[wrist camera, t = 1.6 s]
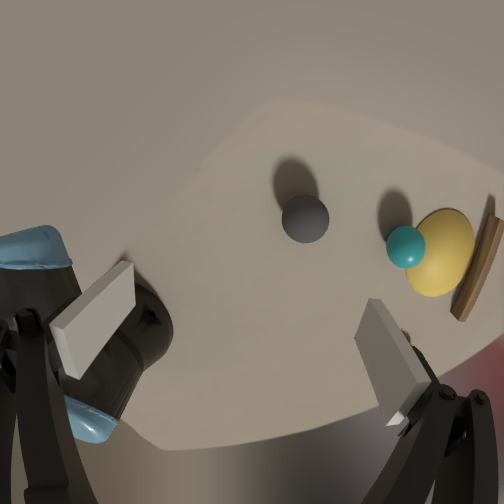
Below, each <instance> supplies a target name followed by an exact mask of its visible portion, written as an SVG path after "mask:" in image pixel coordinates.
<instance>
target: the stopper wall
mask: <svg viewBox="0 0 504 504" xmlns="http://www.w3.org/2000/svg"><path fill="white" fill-rule="evenodd" d="M503 231H504V221H503V220H501V219H500V218H497V217H495V216H493V215H490V214H489V215H488V218H487V222H486V225H485V228H484V232H483V235H482V238H481V241H480V243H479V246H478V249H477V252H476V255H475V257H474V260H473V262H472V265H471V267H470V270H469V272H468V275H467V277H466V279H465V282H464V284H463V286H462V288H461V291H460V293H459V295H458V297H457V299H456V301H455V303H454V305H453V307H452V309H451V311H450V312H451V313H452V314H453V316H454V317H455V318H456V319H457V320H458V321H462V322H465V321H466V319H467V318H468V316H469V314H470V312H471V310H472V308H473V306H474V304H475V302H476V300H477V298H478V296H479V293H480V291H481V289H482V287H483V285H484V282H485V280H486V278H487V275H488V273H489V270H490V268H491V265H492V263H493V260H494V257H495V255H496V252H497V249H498V246H499V243H500V240H501V237H502V234H503Z"/></svg>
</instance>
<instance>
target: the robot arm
mask: <svg viewBox="0 0 504 504" xmlns="http://www.w3.org/2000/svg"><path fill="white" fill-rule="evenodd" d="M72 264H73V263H72V260H71V259H70V258H69V256H68V254H67V252H66V249H65V246H64V243H63V241H62V238H61V235H60V233H59V232H58V231H57V229H55V228H54V227H52V226H49V225H43V226H38V227H34V228H30V229H26V230H22V231H19V232H15V233H11V234H8V235H5V236H1V237H0V504H11V458H12V445H13V436H14V435H13V434H14V428H15V421H16V415H17V417H18V418H17V419H18V428H19V437H20V444H21V450H22V456H23V461H24V467H25V471H26V476H27V480H28V488H27V489H25V490H24V499H25V503H26V504H98V502H97V500H96V498H95V496H94V493H93V491H92V488H91V486H90V484H89V481H88V478H87V476H86V473H85V470H84V468H83V465H82V462H81V459H80V456H79V453H78V450H77V447H76V443H75V440H74V437H75V438H78V439H80V440H83V441H86V442H90V443H101V442H104V441H105V440H106V439H107V438H108V437H109V435H110V434H111V432H112V430H113V428H114V427H115V426H116V425H118V421H119V419H120V417H121V415H122V413H123V411H124V409H125V407H126V405H127V403H128V401H129V399H130V397H131V394H132V392H133V390H134V388H135V386H136V384H137V382H138V380H139V378H140V376H141V375H142V373H143V371H145V370H146V369H147V368H149V367H150V366H151V365H152V364H154V363H155V362H156V361H157V360H159V359H160V358H161V357H162V356H163V355H164V354H165V353H166V351H167V350H168V348H169V346H170V344H171V341H172V338H173V325H172V322H171V319H170V316H169V314H168V312H167V310H166V309H165V307H164V306H163V304H162V303H161V302H160V301H159V300H158V299H157V298H156V297H155V296H154V295H153V294H152V293H151V292H149V291H148V290H147V289H145V288H143V287H142V286H140V285H138V284H135V283H134V268H133V262H127V261H120V262H119V263H118V264H117V265H115V266H114V267H113V268H112V269H111V270H109V271H108V272H107V273H106V274H105V275H103V276H102V277H101V278H100V279H99V280H98V281H96V282H95V283H94V284H93V285H92V286H91V287H89V289H87V290H86V291H85V292H84V293H83V294H82V292H81V290H80V287H79V285H78V282H77V279H76V277H75V274H74V271H73V269H72V266H71V265H72ZM354 339H355V341H356V344H357V346H358V349H359V351H360V354H361V357H362V359H363V362H364V364H365V367H366V370H367V372H368V375H369V378H370V380H371V383H372V386H373V389H374V391H375V394H376V397H377V400H378V403H379V406H380V409H381V411H382V414H383V417H384V420H385V423H386V425H395V424H400V423H401V422H402V421H403V420H404V418H405V417H406V416H407V417H408V419H409V423H408V424H407V425H406V426H405V428H404V429H403V430H402V431H401V432H400V433H399V434H398V436H400V435H401V434H402V435H401V437H400V439H399V441H398V443H397V445H396V447H395V449H394V450H393V452H392V454H391V456H390V458H389V459H388V462H387V463H386V465H385V467H384V468H383V470H382V471H381V473H380V475H379V476H378V478H377V480H376V481H375V483H374V484H373V486H372V487H371V489H370V490H369V492H368V493H367V495H366V496H365V498H364V499H363V501H362V502H361V504H424V503H425V501H426V499H427V497H428V494H429V492H430V490H431V488H432V485H433V483H434V480H435V486H434V492H433V498H432V503H431V504H498V457H497V445H496V436H495V428H494V421H493V415H492V409H491V404H490V400H489V398H488V396H487V395H486V393H485V392H483V391H481V390H477V389H475V390H472V391H471V393H470V394H469V395H468V397H462V396H457V394H456V392H455V390H454V389H453V388H451V387H450V386H448V385H445V384H440V383H439V381H438V379H437V377H436V376H435V374H434V372H433V371H432V369H431V367H430V366H429V364H428V362H427V361H425V357H424V356H423V354H422V353H421V352H420V351H419V350H418V349H417V348H416V347H415V346H411V345H410V344H409V342H408V341H407V339H406V337H405V336H404V334H403V333H402V331H401V329H400V328H399V326H398V325H397V323H396V322H395V320H394V319H393V317H392V316H391V314H390V313H389V311H388V310H387V308H386V307H385V305H384V304H383V302H382V301H381V299H372V298H369V300H368V303H367V305H366V308H365V311H364V314H363V316H362V319H361V322H360V324H359V327H358V329H357V332H356V334H355V337H354ZM465 433H466V437H465ZM435 478H436V479H435Z"/></svg>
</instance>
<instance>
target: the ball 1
mask: <svg viewBox="0 0 504 504" xmlns="http://www.w3.org/2000/svg"><path fill="white" fill-rule="evenodd" d="M282 225H283V228H284V230H285V232H286V233H287V235H288V236H289V237H291V238H292V239H293V240H295V241H297V242H300V243H311V242H314V241H316V240H318V239H320V238H321V237H322V236H323V235H324V234H325V232H326V230H327V228H328V225H329V214H328V211H327V208H326V207H325V205H324V204H323V203H322V202H321V201H320V200H319V199H317V198H315V197H312V196H308V195H303V196H298V197H295V198H293V199H292V200H291V201H289V202H288V203H287V205H286V206H285V208H284V210H283V213H282Z"/></svg>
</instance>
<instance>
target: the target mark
mask: <svg viewBox="0 0 504 504" xmlns="http://www.w3.org/2000/svg"><path fill="white" fill-rule="evenodd" d="M417 230H419V231H420V233H421V234H422V235H423V237H424V239H425V243H426V251H425V255H424V257H423V259H422V261H421V262H420V263H419V264H418V265H416V266H414V267H412V268H406V274H407V278H408V280H409V282H410V284H411V286H412V287H413V288H414V289H415V290H416V291H417V292H418V293H420V294H422V295H425V296H430V297H433V296H439V295H442V294H445V293H447V292H449V291H450V290H452V289H453V288H454V287H455V286H456V285H457V284H459V282H460V281H461V280H462V279H463V277H464V276H465V275H466V273H467V271H468V269H469V267H470V265H471V262H472V259H473V255H474V247H475V240H474V233H473V229H472V227H471V224H470V223H469V221H468V220H467V218H466V217H465V216H464V215H462V214H461V213H459V212H457V211H455V210H450V209H445V210H440V211H437V212H435V213H433V214H431V215H430V216H428V217H427V218H426V219H425V220H424V221H423V222H422V223H421V224H420V225H419V226H418V228H417Z"/></svg>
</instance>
